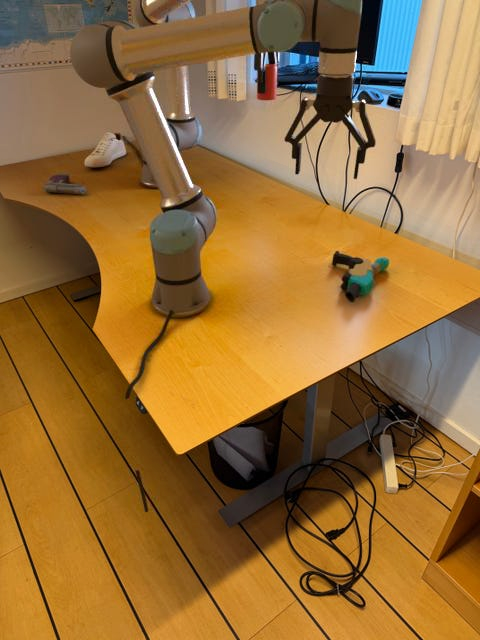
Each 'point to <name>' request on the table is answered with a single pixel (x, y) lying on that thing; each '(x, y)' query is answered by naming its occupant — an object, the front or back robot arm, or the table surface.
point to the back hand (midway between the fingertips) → (266, 91)
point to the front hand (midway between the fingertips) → (326, 174)
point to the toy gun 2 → (358, 274)
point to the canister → (269, 83)
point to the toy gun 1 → (63, 185)
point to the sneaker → (106, 151)
